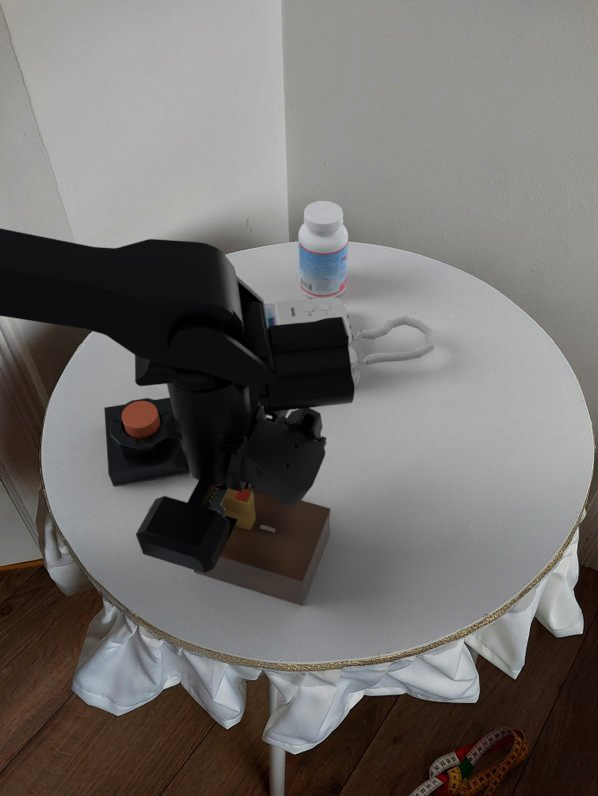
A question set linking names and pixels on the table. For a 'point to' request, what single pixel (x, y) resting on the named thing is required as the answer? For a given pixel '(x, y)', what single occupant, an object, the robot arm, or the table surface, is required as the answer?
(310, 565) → the brown box with slot
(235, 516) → the block
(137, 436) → the arm button
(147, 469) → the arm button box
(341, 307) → the intercom
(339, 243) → the pill bottle
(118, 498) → the table surface
